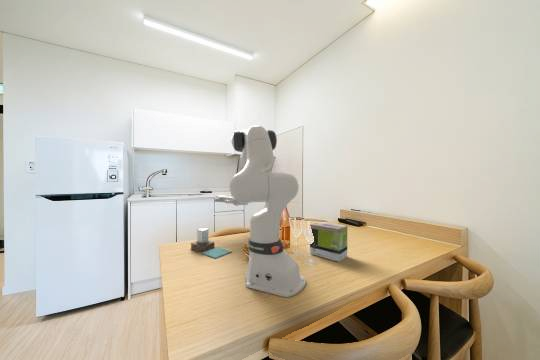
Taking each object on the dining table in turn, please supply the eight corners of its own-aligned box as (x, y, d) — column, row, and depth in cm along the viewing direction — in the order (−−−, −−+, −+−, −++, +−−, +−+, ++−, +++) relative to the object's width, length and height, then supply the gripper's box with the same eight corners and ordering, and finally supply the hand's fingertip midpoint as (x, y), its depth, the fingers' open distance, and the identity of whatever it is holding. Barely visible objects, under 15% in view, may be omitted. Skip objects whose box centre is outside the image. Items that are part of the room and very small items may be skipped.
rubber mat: (231, 252, 100) (231, 251, 100) (215, 258, 92) (215, 257, 92) (218, 247, 106) (218, 247, 106) (201, 253, 98) (201, 252, 98)
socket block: (214, 247, 106) (214, 242, 106) (200, 252, 100) (200, 246, 100) (204, 244, 111) (204, 239, 111) (191, 248, 104) (191, 243, 104)
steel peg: (208, 248, 106) (208, 229, 106) (201, 250, 103) (201, 230, 102) (203, 246, 108) (203, 227, 108) (197, 248, 105) (197, 229, 105)
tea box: (347, 256, 96) (348, 225, 96) (339, 262, 89) (339, 229, 88) (319, 248, 106) (319, 220, 106) (309, 254, 99) (309, 223, 98)
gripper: (225, 192, 132) (208, 194, 121) (250, 194, 121) (233, 197, 110) (226, 201, 133) (209, 204, 121) (250, 205, 121) (233, 208, 110)
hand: (221, 201), depth 115 cm, fingers open, 8 cm apart
